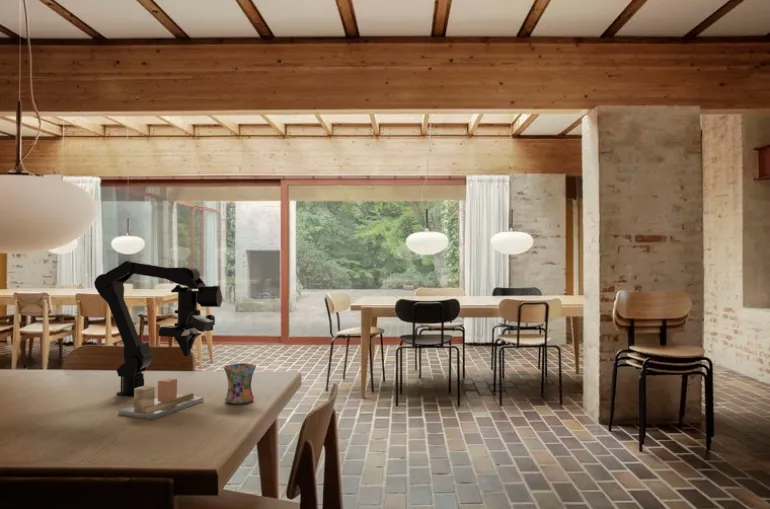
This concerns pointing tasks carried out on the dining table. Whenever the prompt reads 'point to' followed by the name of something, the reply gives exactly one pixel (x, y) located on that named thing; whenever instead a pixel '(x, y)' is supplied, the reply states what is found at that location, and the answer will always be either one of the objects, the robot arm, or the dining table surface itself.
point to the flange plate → (162, 411)
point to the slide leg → (167, 389)
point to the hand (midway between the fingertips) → (186, 356)
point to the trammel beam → (146, 399)
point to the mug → (239, 383)
